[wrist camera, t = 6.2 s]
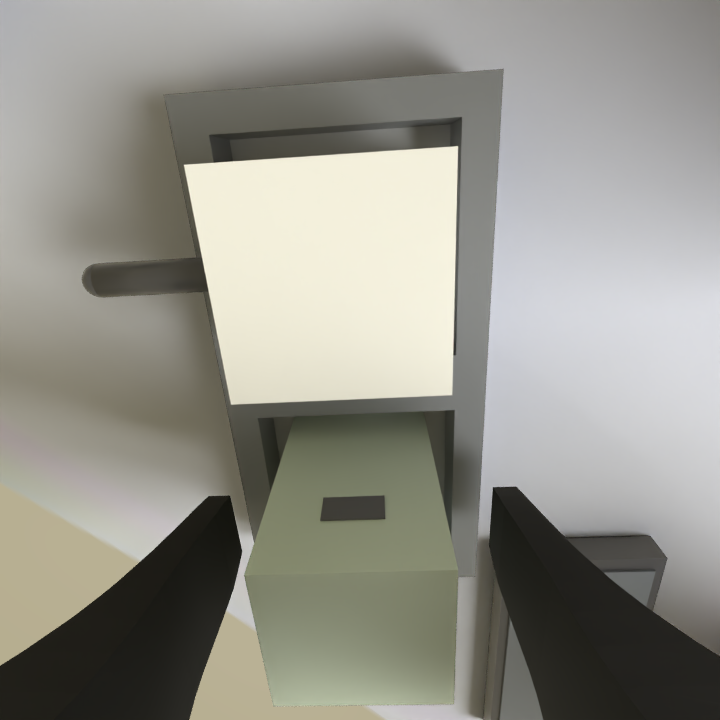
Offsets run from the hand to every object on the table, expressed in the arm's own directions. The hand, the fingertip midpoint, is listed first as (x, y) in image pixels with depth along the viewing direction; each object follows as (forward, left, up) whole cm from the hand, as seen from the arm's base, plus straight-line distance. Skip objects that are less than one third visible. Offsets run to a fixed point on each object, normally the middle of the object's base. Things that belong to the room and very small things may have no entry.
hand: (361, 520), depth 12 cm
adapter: (+2, -7, -3) cm, 8 cm away
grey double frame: (0, -4, -3) cm, 5 cm away
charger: (0, 0, -3) cm, 3 cm away
